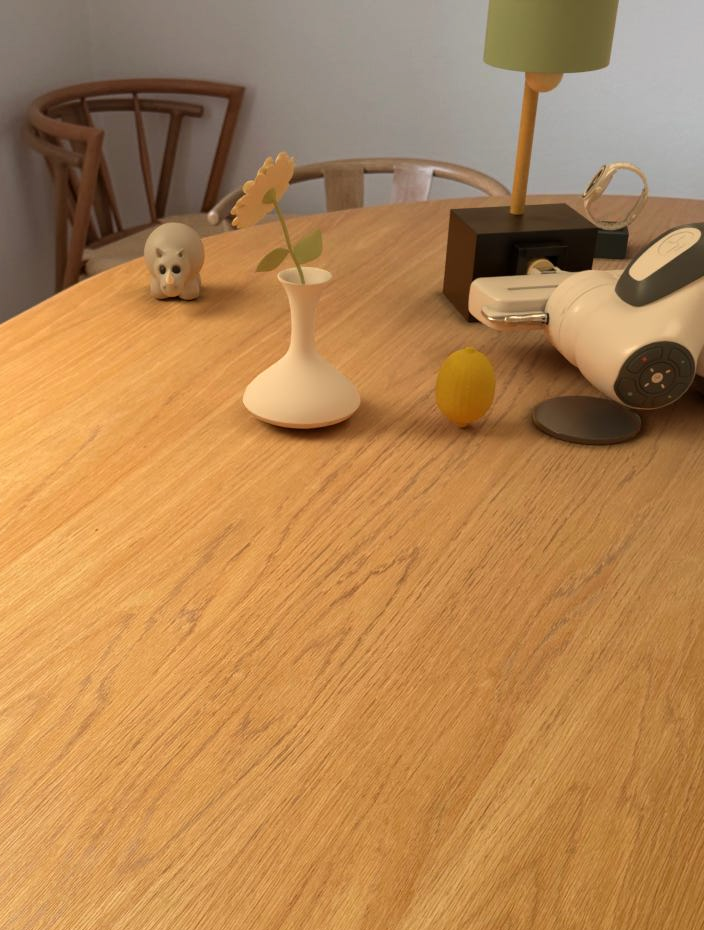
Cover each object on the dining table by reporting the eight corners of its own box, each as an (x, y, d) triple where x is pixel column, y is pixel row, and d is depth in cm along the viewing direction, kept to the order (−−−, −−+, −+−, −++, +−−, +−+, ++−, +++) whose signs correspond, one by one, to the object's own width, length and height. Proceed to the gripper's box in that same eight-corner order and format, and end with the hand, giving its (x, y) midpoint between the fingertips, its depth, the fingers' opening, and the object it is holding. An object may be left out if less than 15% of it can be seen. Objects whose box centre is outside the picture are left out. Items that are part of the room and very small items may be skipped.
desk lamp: (593, 322, 143) (646, -6, 124) (474, 330, 141) (510, -2, 122) (552, 285, 153) (595, -23, 135) (441, 292, 152) (469, -19, 133)
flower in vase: (313, 383, 129) (321, 126, 115) (383, 421, 121) (401, 150, 107) (206, 412, 123) (201, 146, 109) (273, 455, 115) (276, 173, 101)
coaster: (630, 402, 124) (631, 397, 124) (648, 446, 116) (649, 440, 116) (527, 399, 125) (528, 394, 125) (538, 443, 117) (539, 437, 117)
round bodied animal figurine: (137, 318, 145) (133, 245, 140) (149, 284, 155) (146, 214, 150) (199, 319, 145) (198, 245, 140) (207, 285, 155) (206, 215, 150)
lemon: (496, 438, 118) (507, 357, 113) (438, 440, 118) (446, 359, 113) (482, 414, 122) (492, 335, 118) (426, 416, 122) (433, 337, 118)
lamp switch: (552, 286, 140) (556, 259, 138) (526, 288, 139) (530, 261, 138) (544, 279, 142) (548, 252, 140) (519, 280, 141) (522, 254, 140)
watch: (573, 243, 167) (586, 157, 161) (636, 246, 166) (651, 160, 160) (574, 256, 163) (587, 168, 156) (639, 259, 161) (654, 171, 155)
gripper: (488, 354, 128) (448, 308, 139) (678, 341, 130) (623, 297, 141) (494, 293, 124) (453, 251, 136) (690, 281, 127) (633, 240, 138)
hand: (541, 274), depth 139 cm, fingers closed, pressing on lamp switch
